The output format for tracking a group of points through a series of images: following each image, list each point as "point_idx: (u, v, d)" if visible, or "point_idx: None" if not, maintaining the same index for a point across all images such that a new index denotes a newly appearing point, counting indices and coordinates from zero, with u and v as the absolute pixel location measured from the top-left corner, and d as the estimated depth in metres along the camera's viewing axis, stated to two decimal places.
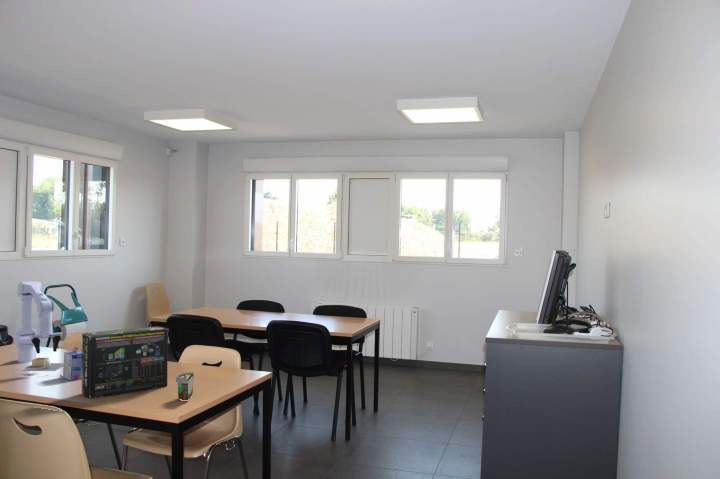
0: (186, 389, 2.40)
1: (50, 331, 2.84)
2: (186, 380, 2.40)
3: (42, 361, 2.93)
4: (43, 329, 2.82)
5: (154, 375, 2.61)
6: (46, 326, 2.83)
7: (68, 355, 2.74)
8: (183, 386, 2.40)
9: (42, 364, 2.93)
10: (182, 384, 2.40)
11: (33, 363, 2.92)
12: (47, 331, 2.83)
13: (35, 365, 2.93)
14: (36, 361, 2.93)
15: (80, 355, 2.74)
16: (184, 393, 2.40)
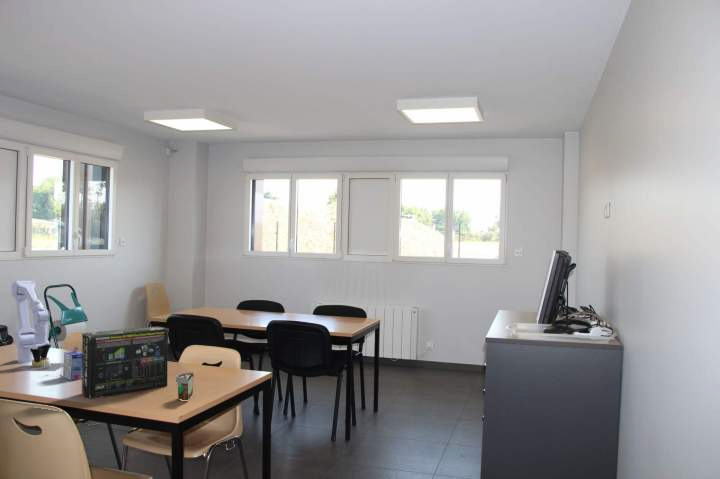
0: (186, 389, 2.40)
1: (47, 340, 2.97)
2: (186, 380, 2.40)
3: (42, 361, 2.93)
4: (43, 339, 2.94)
5: (154, 375, 2.61)
6: (45, 336, 2.95)
7: (68, 355, 2.74)
8: (183, 387, 2.40)
9: (42, 364, 2.93)
10: (182, 384, 2.40)
11: (33, 363, 2.92)
12: (46, 340, 2.96)
13: (35, 365, 2.93)
14: None
15: (80, 355, 2.74)
16: (184, 393, 2.40)
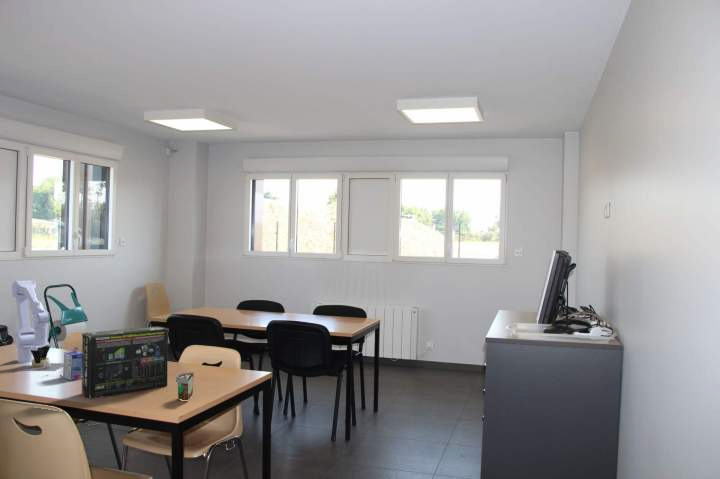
0: (186, 389, 2.40)
1: (47, 342, 2.97)
2: (186, 380, 2.40)
3: (42, 361, 2.93)
4: (43, 340, 2.94)
5: (154, 375, 2.61)
6: (45, 337, 2.95)
7: (68, 355, 2.74)
8: (183, 387, 2.40)
9: (42, 364, 2.93)
10: (182, 384, 2.40)
11: (33, 363, 2.92)
12: (46, 342, 2.96)
13: (35, 365, 2.93)
14: None
15: (80, 355, 2.74)
16: (184, 393, 2.40)
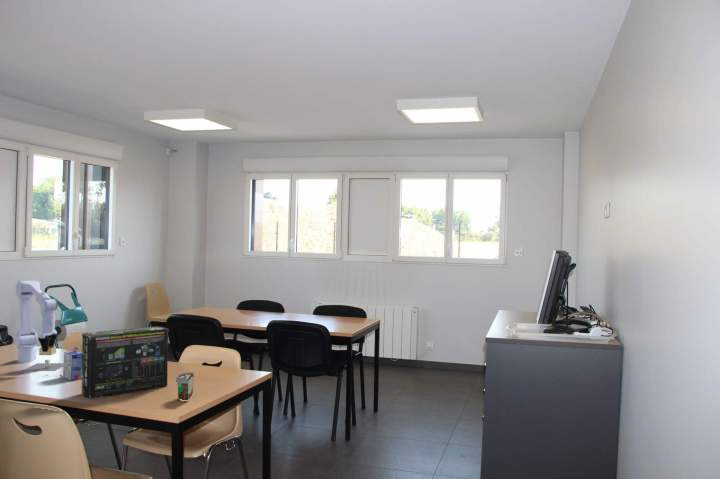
0: (186, 389, 2.40)
1: (54, 330, 2.92)
2: (186, 380, 2.40)
3: (50, 349, 2.88)
4: (50, 328, 2.89)
5: (154, 375, 2.61)
6: (53, 325, 2.90)
7: (68, 355, 2.74)
8: (183, 387, 2.40)
9: (50, 352, 2.88)
10: (182, 384, 2.40)
11: (40, 351, 2.87)
12: (53, 330, 2.90)
13: (42, 353, 2.87)
14: None
15: (80, 355, 2.74)
16: (184, 393, 2.40)
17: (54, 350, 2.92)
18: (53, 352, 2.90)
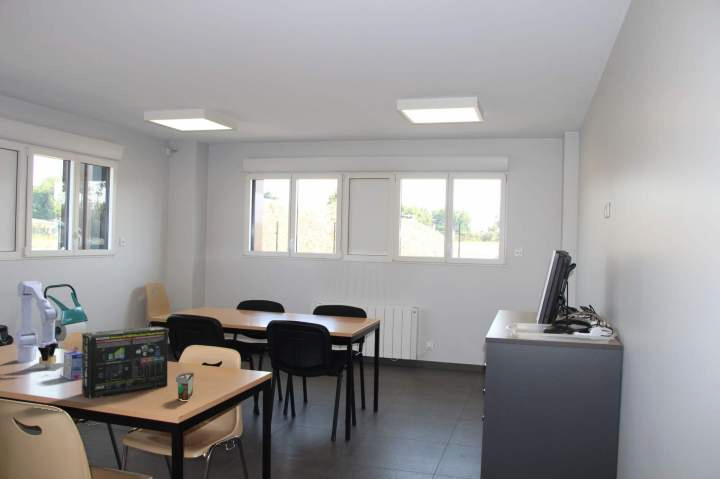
0: (186, 389, 2.40)
1: (54, 339, 2.92)
2: (186, 380, 2.40)
3: (50, 358, 2.88)
4: (50, 337, 2.88)
5: (154, 375, 2.61)
6: (53, 334, 2.90)
7: (68, 355, 2.74)
8: (183, 387, 2.40)
9: (50, 362, 2.88)
10: (182, 384, 2.40)
11: (40, 361, 2.87)
12: (53, 339, 2.90)
13: (42, 363, 2.87)
14: None
15: (80, 355, 2.74)
16: (184, 393, 2.40)
17: (54, 359, 2.91)
18: (53, 361, 2.90)
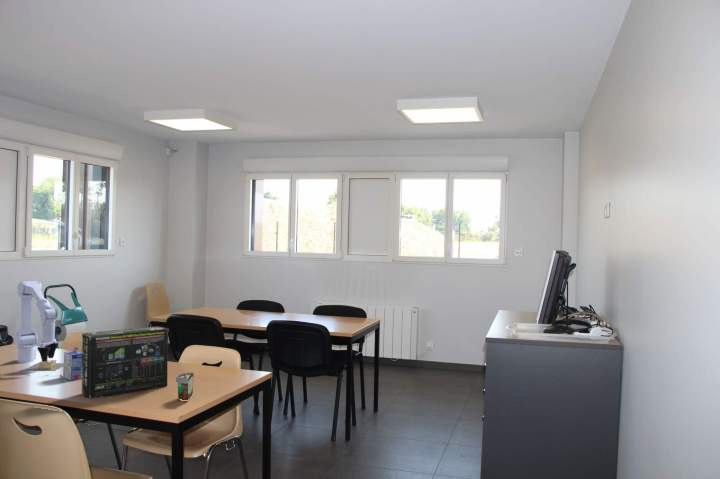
0: (186, 389, 2.40)
1: (54, 339, 2.92)
2: (186, 380, 2.40)
3: (49, 364, 2.88)
4: (50, 337, 2.88)
5: (154, 375, 2.61)
6: (53, 334, 2.90)
7: (68, 355, 2.74)
8: (183, 386, 2.40)
9: (49, 367, 2.88)
10: (182, 384, 2.40)
11: (40, 366, 2.87)
12: (53, 339, 2.90)
13: (42, 368, 2.87)
14: (43, 364, 2.87)
15: (80, 355, 2.74)
16: (184, 393, 2.40)
17: (54, 364, 2.91)
18: (53, 366, 2.90)
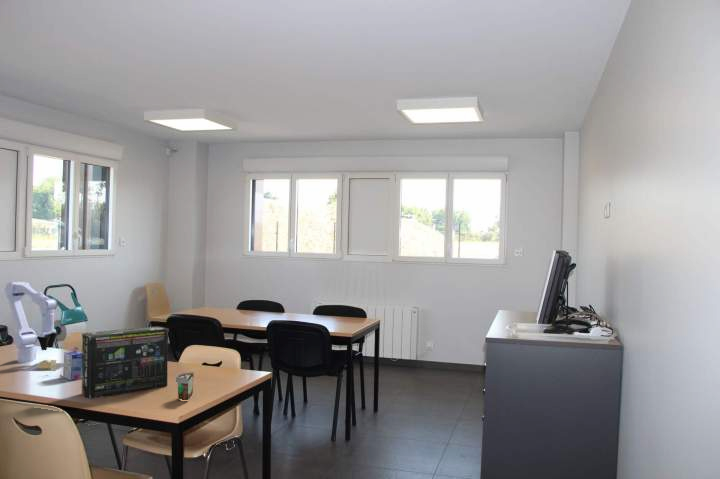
0: (186, 389, 2.40)
1: (53, 329, 3.00)
2: (186, 380, 2.40)
3: (49, 364, 2.88)
4: (50, 327, 2.97)
5: (154, 375, 2.61)
6: (52, 324, 2.98)
7: (68, 355, 2.74)
8: (183, 387, 2.40)
9: (49, 367, 2.88)
10: (182, 384, 2.40)
11: (40, 366, 2.87)
12: (53, 329, 2.99)
13: (42, 368, 2.87)
14: (43, 364, 2.87)
15: (80, 355, 2.74)
16: (184, 393, 2.40)
17: (54, 364, 2.91)
18: (53, 366, 2.90)
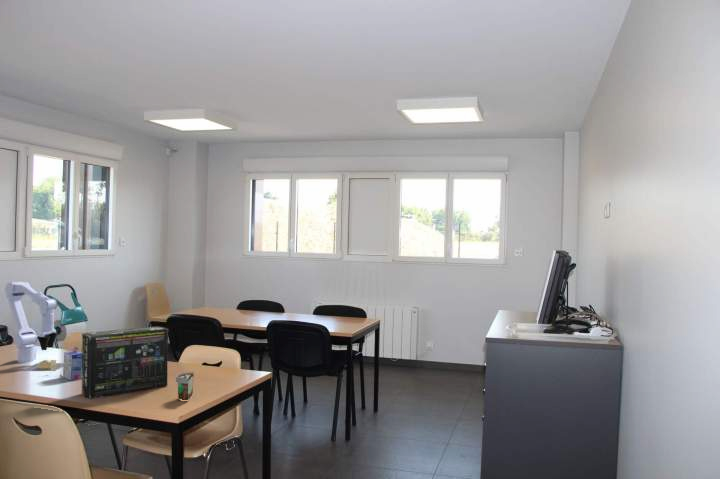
0: (186, 389, 2.40)
1: (53, 328, 3.00)
2: (186, 380, 2.40)
3: (49, 364, 2.88)
4: (50, 327, 2.97)
5: (154, 375, 2.61)
6: (52, 324, 2.98)
7: (68, 355, 2.74)
8: (183, 387, 2.40)
9: (49, 367, 2.88)
10: (182, 384, 2.40)
11: (40, 366, 2.87)
12: (53, 329, 2.99)
13: (42, 368, 2.87)
14: (43, 364, 2.87)
15: (80, 355, 2.74)
16: (184, 393, 2.40)
17: (54, 364, 2.91)
18: (53, 366, 2.90)
